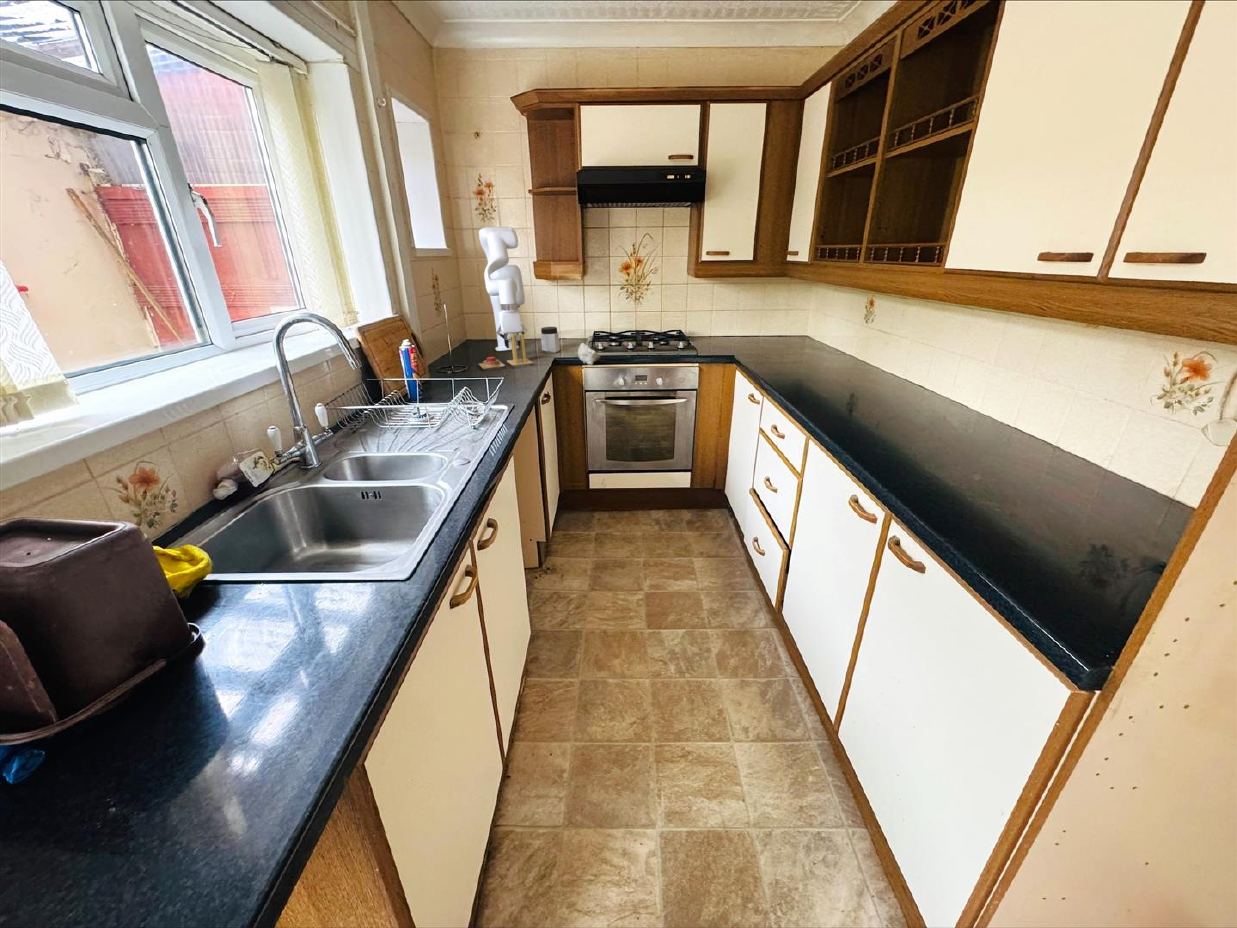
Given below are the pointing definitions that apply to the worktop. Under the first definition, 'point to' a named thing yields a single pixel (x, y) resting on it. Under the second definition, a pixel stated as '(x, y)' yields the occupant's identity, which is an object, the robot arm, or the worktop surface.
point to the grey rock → (587, 354)
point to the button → (490, 359)
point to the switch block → (491, 364)
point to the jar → (550, 339)
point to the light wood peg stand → (514, 351)
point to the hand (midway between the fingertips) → (513, 346)
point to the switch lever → (517, 338)
